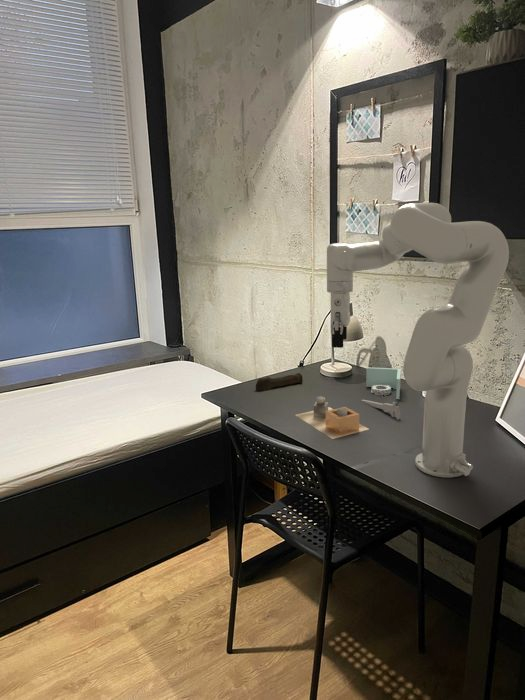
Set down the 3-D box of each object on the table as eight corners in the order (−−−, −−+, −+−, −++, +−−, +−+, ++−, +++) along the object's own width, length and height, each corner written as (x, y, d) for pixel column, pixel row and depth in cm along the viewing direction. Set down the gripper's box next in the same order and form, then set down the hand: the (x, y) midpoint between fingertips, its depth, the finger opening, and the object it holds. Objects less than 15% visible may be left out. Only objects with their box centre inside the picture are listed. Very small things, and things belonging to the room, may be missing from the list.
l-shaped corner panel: (366, 386, 189) (366, 367, 188) (400, 388, 186) (400, 368, 184) (363, 398, 178) (363, 377, 176) (399, 400, 175) (399, 379, 173)
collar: (359, 430, 150) (359, 414, 149) (339, 435, 147) (339, 419, 146) (345, 422, 156) (345, 406, 155) (325, 427, 153) (325, 411, 152)
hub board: (369, 432, 150) (369, 410, 149) (332, 442, 145) (332, 419, 143) (329, 409, 169) (329, 389, 167) (295, 417, 163) (294, 397, 161)
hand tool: (298, 381, 199) (298, 370, 198) (303, 384, 195) (303, 372, 194) (253, 389, 192) (252, 377, 191) (257, 392, 188) (256, 380, 187)
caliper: (400, 422, 157) (400, 403, 155) (397, 423, 157) (398, 404, 155) (361, 402, 175) (361, 384, 173) (358, 402, 175) (358, 385, 173)
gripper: (350, 291, 141) (349, 351, 145) (355, 282, 157) (354, 336, 162) (322, 290, 143) (323, 350, 147) (330, 282, 159) (330, 336, 163)
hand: (339, 343), depth 154 cm, fingers open, 9 cm apart
